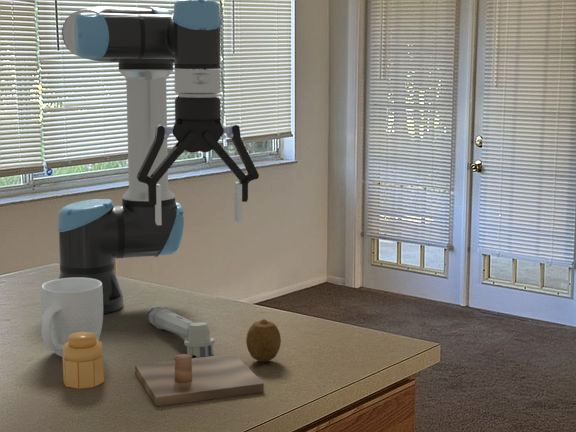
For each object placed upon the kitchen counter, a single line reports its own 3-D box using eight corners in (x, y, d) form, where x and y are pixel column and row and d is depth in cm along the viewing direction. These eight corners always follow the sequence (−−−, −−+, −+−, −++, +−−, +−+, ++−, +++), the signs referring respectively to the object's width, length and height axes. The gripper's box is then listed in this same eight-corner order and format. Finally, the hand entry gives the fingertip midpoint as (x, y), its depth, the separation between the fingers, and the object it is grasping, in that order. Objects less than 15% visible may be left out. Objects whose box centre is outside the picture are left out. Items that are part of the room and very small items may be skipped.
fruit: (253, 369, 157) (253, 326, 156) (241, 358, 163) (241, 316, 162) (286, 365, 160) (286, 322, 158) (272, 354, 165) (272, 313, 164)
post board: (135, 373, 155) (134, 342, 154) (233, 361, 161) (233, 332, 160) (156, 406, 140) (155, 373, 139) (263, 392, 147) (263, 360, 146)
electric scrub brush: (167, 304, 185) (217, 318, 163) (169, 336, 185) (220, 354, 163) (143, 307, 182) (191, 322, 161) (145, 339, 183) (193, 359, 161)
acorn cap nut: (61, 377, 152) (60, 332, 151) (99, 373, 155) (98, 328, 153) (67, 390, 147) (65, 343, 145) (106, 385, 149) (104, 339, 148)
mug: (73, 372, 155) (71, 299, 153) (19, 365, 158) (16, 294, 156) (115, 346, 169) (113, 279, 167) (64, 340, 172) (61, 275, 170)
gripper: (122, 96, 140) (125, 229, 144) (276, 96, 146) (275, 223, 150) (119, 94, 147) (122, 221, 151) (266, 94, 153) (265, 215, 157)
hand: (198, 222), depth 150 cm, fingers open, 13 cm apart
